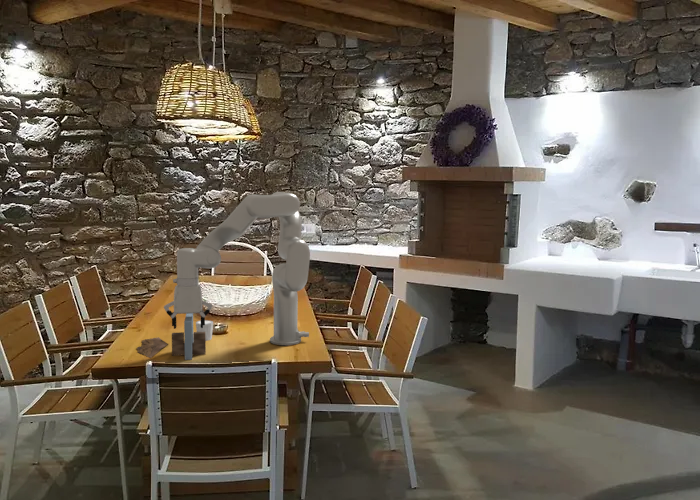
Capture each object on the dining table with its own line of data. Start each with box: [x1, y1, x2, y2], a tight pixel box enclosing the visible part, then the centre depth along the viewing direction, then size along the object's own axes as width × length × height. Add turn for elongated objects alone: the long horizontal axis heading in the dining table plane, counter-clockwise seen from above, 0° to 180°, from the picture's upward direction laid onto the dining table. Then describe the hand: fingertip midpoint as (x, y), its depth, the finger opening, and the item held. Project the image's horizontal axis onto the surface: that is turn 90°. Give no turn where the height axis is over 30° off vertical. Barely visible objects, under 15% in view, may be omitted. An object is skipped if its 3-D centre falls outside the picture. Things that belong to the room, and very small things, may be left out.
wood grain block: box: [171, 331, 207, 356], centre depth 228 cm, size 12×2×8 cm, turn 101°
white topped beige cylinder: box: [195, 319, 214, 341], centre depth 248 cm, size 7×7×7 cm
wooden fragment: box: [136, 337, 169, 358], centre depth 236 cm, size 26×11×1 cm, turn 9°
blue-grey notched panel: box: [183, 313, 194, 361], centre depth 228 cm, size 14×2×14 cm, turn 11°
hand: (188, 327), depth 227 cm, fingers open, 9 cm apart
